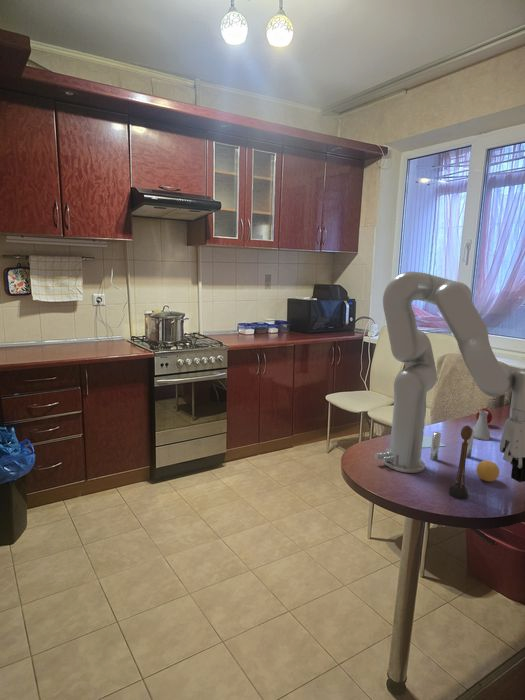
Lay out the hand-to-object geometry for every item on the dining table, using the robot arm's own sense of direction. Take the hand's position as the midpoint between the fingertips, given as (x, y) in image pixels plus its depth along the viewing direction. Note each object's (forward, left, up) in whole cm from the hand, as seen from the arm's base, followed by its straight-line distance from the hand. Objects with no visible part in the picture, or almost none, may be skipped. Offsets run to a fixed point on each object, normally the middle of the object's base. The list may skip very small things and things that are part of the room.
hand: (517, 479), depth 121 cm
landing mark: (-1, +40, -5) cm, 40 cm away
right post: (+6, +26, -5) cm, 27 cm away
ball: (-1, +10, -2) cm, 10 cm away
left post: (-7, +26, -5) cm, 27 cm away
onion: (+35, +52, -5) cm, 63 cm away
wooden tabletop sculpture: (-15, +4, -5) cm, 17 cm away
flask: (+24, +41, -6) cm, 48 cm away
